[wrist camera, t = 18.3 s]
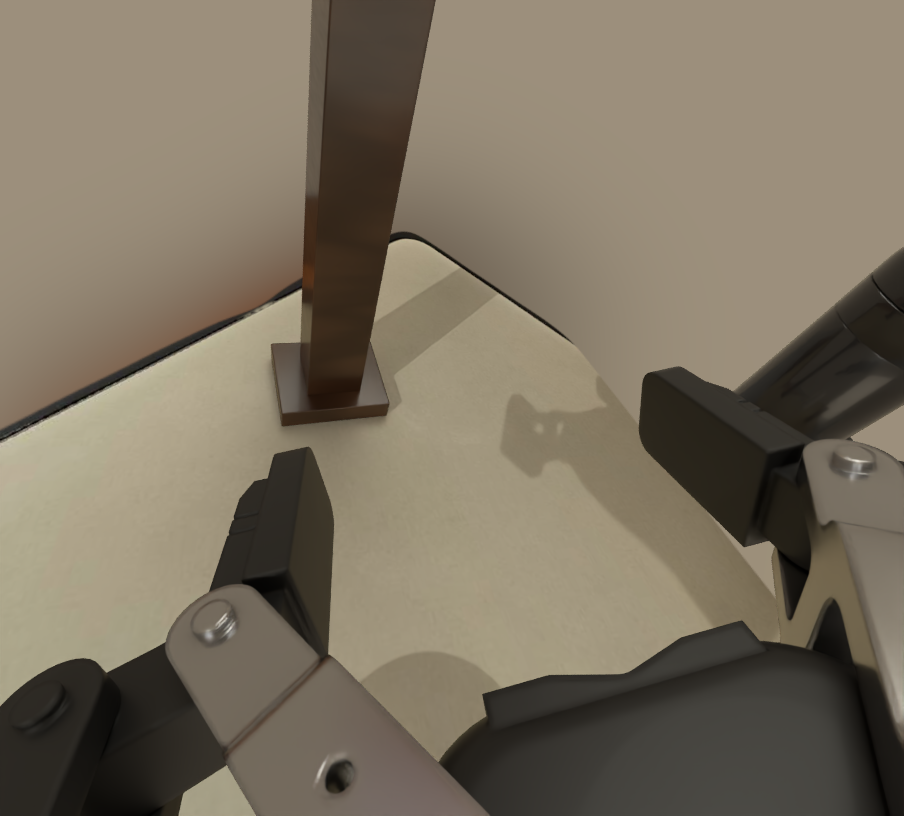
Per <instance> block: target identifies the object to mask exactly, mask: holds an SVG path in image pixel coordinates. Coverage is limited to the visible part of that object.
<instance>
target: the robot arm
mask: <svg viewBox="0 0 904 816" xmlns="http://www.w3.org/2000/svg"><path fill="white" fill-rule="evenodd" d="M903 405H904V247H903V248H901V249H900V250H898V251H897V252H895V253H894V254H893V255H892V256H890V257H889V258H888V259H887V260H886V261H884V262H883V263H882V264H881V265H880V266H879V267H878V268H876V269H875V270H874V271H873V272H872V273H871V274H870V275H868V276H867V277H866V278H865V279H864V280H863V281H861V282H860V283H859V284H858V285H857V286H855V287H854V288H853V289H852V290H851V291H850V292H848V293H847V294H846V295H845V296H844V297H843V298H841V300H839V301H838V302H837V303H836V304H835V305H834V306H832V307H831V308H830V309H829V310H828V311H827V312H825V313H824V314H823V315H822V316H821V317H820V318H819V319H817V320H816V321H815V322H814V323H813V324H812V325H810V326H809V327H808V328H807V329H806V330H805V331H803V332H802V333H801V334H800V335H799V336H797V337H796V338H795V339H794V340H793V341H792V342H790V343H789V344H788V345H787V346H786V347H785V348H783V349H782V350H781V351H780V352H779V353H778V354H776V355H775V356H774V357H773V358H772V359H771V360H769V361H768V362H767V363H766V364H765V365H764V366H762V367H761V368H760V369H759V370H758V371H757V372H755V373H754V374H753V375H752V376H751V377H749V378H748V379H747V380H746V381H745V382H743V383H742V384H741V385H740V386H739V387H738V388H737V389H735V390H734V391H731V390H729V389H727V388H724V387H721V386H718V385H715V384H712V383H709V382H706V381H704V380H702V379H700V378H699V377H697V376H696V375H694V374H692V373H691V372H689V371H687V370H686V369H684V368H682V367H673V368H668V369H664V370H659V371H655V372H650V373H647V374H646V375H645V377H644V379H643V383H642V394H641V407H640V420H639V435H640V439H641V442H642V444H643V446H644V448H645V450H646V451H647V452H648V453H649V454H650V455H651V456H652V457H653V458H654V459H655V460H656V461H657V462H658V463H659V464H660V465H661V466H662V467H663V468H664V469H665V470H666V471H667V472H668V473H669V474H670V475H671V476H672V477H673V478H674V479H675V480H676V481H677V482H678V483H679V484H680V485H681V486H682V487H683V488H684V489H685V490H686V491H687V492H688V493H689V494H690V495H691V496H692V497H693V498H694V499H695V500H696V501H697V502H698V503H699V504H700V505H701V506H703V507H704V508H705V509H706V510H707V511H708V512H709V513H710V514H711V515H712V516H713V517H714V518H715V519H716V520H717V521H718V522H719V523H720V524H721V525H722V526H723V527H724V528H725V529H726V530H727V531H728V532H729V533H730V534H731V535H732V536H733V537H734V538H735V539H736V540H737V541H738V542H739V543H740V544H741V545H742V546H743V547H747V546H751V545H755V544H758V543H762V542H765V541H770V542H771V543H772V544H773V545H774V546H775V548H774V550H773V554H772V568H773V577H774V586H775V594H776V603H777V612H778V620H779V629H780V643H776V642H767V641H759V640H758V639H757V637H756V636H755V635H754V634H753V633H752V631H751V630H750V629H749V628H748V627H747V626H746V624H745V623H744V622H743V621H742V620H741V621H738V622H734V623H731V624H727V625H724V626H720V627H717V628H713V629H710V630H706V631H702V632H699V633H695V634H692V635H688V636H685V637H681V638H680V639H678V640H677V641H675V642H674V643H672V644H671V645H669V646H668V647H666V648H665V649H663V650H662V651H660V652H659V653H657V654H656V655H654V656H653V657H651V658H650V659H648V660H647V661H645V662H644V663H642V664H641V665H639V666H638V667H636V668H635V669H633V670H632V671H630V672H628V673H624V674H614V675H548V676H544V677H541V678H537V679H534V680H530V681H527V682H523V683H520V684H516V685H513V686H509V687H506V688H502V689H498V690H495V691H491V692H488V693H484V694H482V695H483V700H484V706H485V711H486V717H485V718H483V719H482V720H480V721H479V722H477V723H476V724H474V725H473V726H472V727H470V728H469V729H468V730H467V731H466V732H465V733H463V734H462V735H461V736H460V737H459V738H458V739H457V740H456V741H455V742H454V743H453V744H452V746H451V747H450V748H449V749H448V750H447V751H446V752H445V754H444V755H443V757H442V758H441V759H440V761H439V762H437V761H436V760H435V759H434V758H433V757H432V756H431V755H430V754H429V753H428V752H427V751H426V750H425V749H424V748H423V747H422V746H421V745H420V744H419V743H418V742H417V741H416V740H415V739H414V738H413V737H412V736H411V735H410V734H409V733H408V732H407V731H406V730H405V729H404V728H403V727H402V726H401V724H400V723H399V722H398V721H397V720H396V719H395V718H394V717H393V716H392V715H391V714H390V713H389V712H388V711H387V710H386V709H385V708H384V707H383V706H382V705H381V704H380V703H379V702H378V701H377V700H376V699H375V698H374V697H373V696H372V695H371V694H370V693H369V692H368V691H367V690H366V689H365V688H364V687H363V686H362V685H361V684H360V683H359V682H358V681H357V680H356V679H355V678H354V677H353V676H352V675H351V674H350V673H349V672H348V671H347V670H346V669H345V668H344V667H343V666H342V665H341V664H340V663H339V662H338V661H337V660H336V659H335V658H333V657H332V656H330V655H328V643H329V622H330V600H331V579H332V558H333V536H334V518H333V511H332V506H331V502H330V499H329V496H328V493H327V490H326V487H325V485H324V482H323V479H322V476H321V473H320V470H319V468H318V465H317V462H316V459H315V456H314V454H313V451H312V450H311V448H310V447H304V448H300V449H295V450H291V451H286V452H282V453H277V454H275V455H274V457H273V460H272V464H271V468H270V472H269V475H268V478H267V479H262V480H258V481H254V482H253V484H252V485H251V486H250V487H249V488H248V490H247V491H246V492H245V493H244V494H243V495H242V497H241V498H240V499H239V502H238V505H237V508H236V511H235V514H234V520H233V521H232V524H231V527H230V530H229V536H227V539H226V542H225V545H224V548H223V551H222V554H221V557H220V560H219V563H218V566H217V569H216V572H215V575H214V578H213V581H212V584H211V587H210V590H209V592H208V593H207V594H205V595H203V596H202V597H200V598H198V599H197V600H196V601H194V602H193V603H192V604H190V605H189V606H188V607H187V608H186V609H185V610H184V611H183V612H182V613H181V614H180V616H179V617H178V618H177V619H176V621H175V622H174V624H173V625H172V627H171V629H170V631H169V633H168V636H167V638H166V642H165V643H163V644H162V645H160V646H158V647H156V648H154V649H152V650H151V651H149V652H147V653H145V654H143V655H141V656H139V657H137V658H135V659H133V660H131V661H129V662H127V663H125V664H123V665H121V666H119V667H117V668H115V669H113V670H111V671H109V672H108V673H106V672H105V671H104V670H103V669H102V668H101V666H100V665H99V664H98V663H97V662H95V661H93V660H91V659H84V658H82V659H74V660H69V661H66V662H63V663H60V664H57V665H55V666H53V667H51V668H49V669H47V670H45V671H44V672H42V673H40V674H38V675H37V676H35V677H34V678H32V679H31V680H29V681H28V682H27V683H25V684H24V685H23V686H22V687H20V688H19V689H18V690H17V691H16V692H14V693H13V694H12V695H11V696H10V697H9V698H8V699H7V700H6V701H5V702H4V703H3V704H2V705H1V706H0V816H178V815H179V810H180V805H181V801H182V796H183V793H184V792H185V791H187V790H188V789H190V788H192V787H193V786H195V785H196V784H198V783H199V782H201V781H203V780H204V779H206V778H207V777H209V776H210V775H212V774H214V773H215V772H217V771H218V770H220V769H221V768H223V767H225V766H226V765H227V766H228V768H229V770H230V772H231V773H232V775H233V777H234V778H235V780H236V782H237V783H238V785H239V787H240V789H241V790H242V792H243V794H244V795H245V797H246V799H247V800H248V802H249V804H250V806H251V807H252V809H253V811H254V812H255V814H256V816H904V462H902V461H898V460H897V459H895V458H894V457H893V456H891V455H890V454H888V453H886V452H884V451H882V450H880V449H878V448H875V447H872V446H870V445H866V444H863V443H859V442H855V441H853V440H852V439H851V438H850V437H851V436H853V435H854V434H856V433H858V432H859V431H861V430H863V429H864V428H866V427H868V426H869V425H871V424H872V423H874V422H876V421H877V420H879V419H881V418H882V417H884V416H886V415H888V414H889V413H891V412H893V411H894V410H896V409H898V408H899V407H901V406H903Z"/></svg>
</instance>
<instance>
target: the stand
mask: <svg viewBox="0 0 904 816" xmlns="http://www.w3.org/2000/svg"><path fill="white" fill-rule="evenodd" d="M435 1H436V0H312V15H311V16H312V17H311V46H310V75H309V105H308V134H307V166H306V194H305V226H304V255H303V284H302V314H301V343H277V344H271V358H272V365H273V371H274V378H275V385H276V391H277V398H278V405H279V412H280V418H281V425H282V426H289V425H299V424H308V423H318V422H328V421H337V420H347V419H356V418H366V417H375V416H385V415H386V414H387V411H388V407H389V400H388V397H387V394H386V391H385V388H384V384H383V381H382V378H381V375H380V371H379V368H378V365H377V362H376V358H375V355H374V352H373V349H372V346H371V342H370V338H371V332H372V327H373V322H374V317H375V312H376V306H377V301H378V296H379V291H380V286H381V281H382V275H383V270H384V265H385V260H386V255H387V249H388V244H389V239H390V234H391V229H392V224H393V218H394V213H395V208H396V203H397V198H398V193H399V187H400V181H401V177H402V171H403V167H404V161H405V156H406V151H407V146H408V141H409V136H410V130H411V125H412V119H413V115H414V110H415V104H416V99H417V94H418V89H419V84H420V79H421V73H422V68H423V63H424V58H425V53H426V48H427V42H428V37H429V32H430V27H431V22H432V16H433V11H434V6H435Z"/></svg>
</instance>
